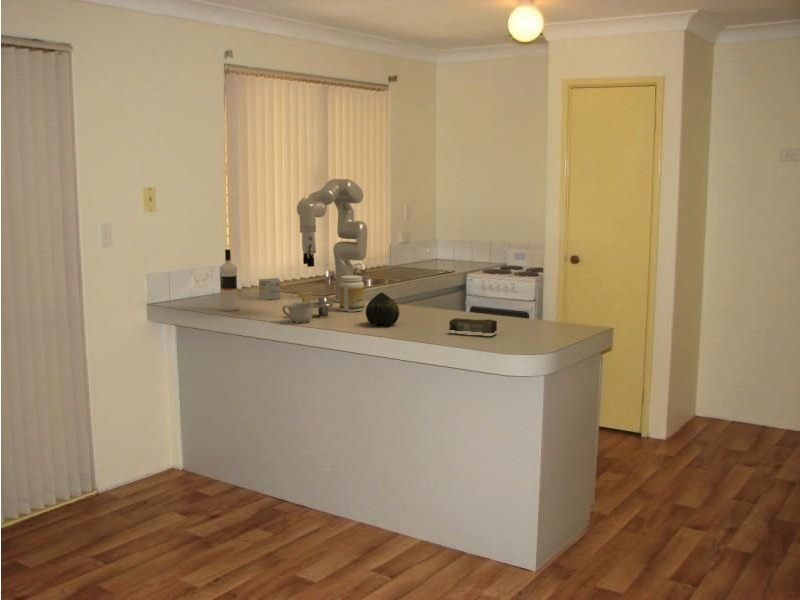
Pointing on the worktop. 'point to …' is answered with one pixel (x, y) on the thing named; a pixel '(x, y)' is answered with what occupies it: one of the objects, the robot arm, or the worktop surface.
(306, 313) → the teacup
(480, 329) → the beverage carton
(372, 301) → the squash
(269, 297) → the light bulb box
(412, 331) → the worktop surface
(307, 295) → the wedge pin
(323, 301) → the grey knob latch
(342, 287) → the supplement tub
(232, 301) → the vodka
